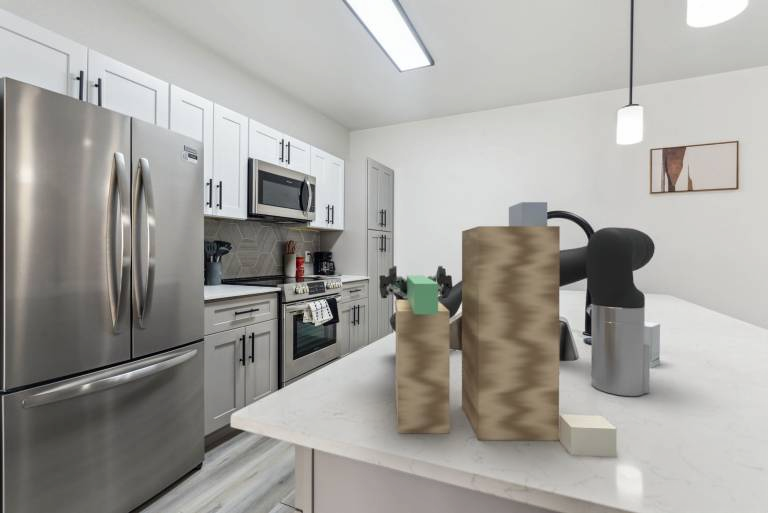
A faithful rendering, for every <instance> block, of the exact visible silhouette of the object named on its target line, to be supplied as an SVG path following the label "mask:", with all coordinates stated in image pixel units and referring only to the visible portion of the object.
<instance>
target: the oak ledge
mask: <svg viewBox="0 0 768 513" xmlns="http://www.w3.org/2000/svg"><path fill="white" fill-rule="evenodd" d="M395 300H396V299H395ZM395 312H396V332H395V406H396V408H395V410H396V424H397V425H396V426H397V433H398V434H450V395H451V394H450V393H451V392H450V385H451V383H450V381H451V380H450V377H451V375H450V370H451V369H450V367H451V366H450V364H451V362H450V358H451V357H450V356H451V355H450V354H451V353H450V345H451V344H450V341H451V340H450V334H451V333H450V331H451V330H450V323H451V322H450V320H451V319H450V311H449V310H448V309H447V308H445V307H444V306H443V305H442V304H441V303H440V302H439V301H438V314H414V312H413V310H412V308H411V306H410V304H409V302H408V300H396V309H395Z"/></svg>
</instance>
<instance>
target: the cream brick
mask: <svg viewBox="0 0 768 513" xmlns="http://www.w3.org/2000/svg"><path fill="white" fill-rule="evenodd" d="M558 441H559V442H561V444H562V445H563V447H564V448H565V449H566V450H567V452H568V453H569V454H570V455H571V456H584V457H585V456H588V457H593V456H594V457H608V458H609V457H610V458H617V428H616V427H615V426H614V425H613V424H611V422H609V421H608V420H607V419H605V417H603V415H586V414H563V413H562V414H560V413H559V440H558Z"/></svg>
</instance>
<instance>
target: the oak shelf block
mask: <svg viewBox="0 0 768 513" xmlns="http://www.w3.org/2000/svg"><path fill="white" fill-rule="evenodd" d="M560 227H561V226H559V225H550V226H549V225H547V226H509V225H504V226H502V225H501V226H500V225H499V226H498V225H497V226H496V225H493V226H491V225H489V226H488V225H487V226H485V225H484V226H483V225H482V226H480V225H479V226H475V227H472V228H469V229H465V230H462V231H461V280H462V303H461V408H462V410H463V411H464V413H465V416H466V418H467V420H468V421H469V424H470V426H471V428H472V430H473V432H474V434H475V436H476V438H477V440H478V441H560V440H559V416H560V287H559V267H560V250H561V248H560V247H561V246H560V243H561V242H560V236H561V235H560V234H561V230H560V229H561V228H560Z"/></svg>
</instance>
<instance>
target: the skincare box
mask: <svg viewBox="0 0 768 513" xmlns="http://www.w3.org/2000/svg"><path fill="white" fill-rule="evenodd" d="M644 322H645V344H647V345H649V347H650V369H652V368H655V367H656V366H659V365H660V364H661V361H660V358H661V357H660V355H661V354H660V351H661V345H660V344H661V343H660V341H661V323H660V322H653V321H652V322H651V321H646V320H645V321H644Z"/></svg>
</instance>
